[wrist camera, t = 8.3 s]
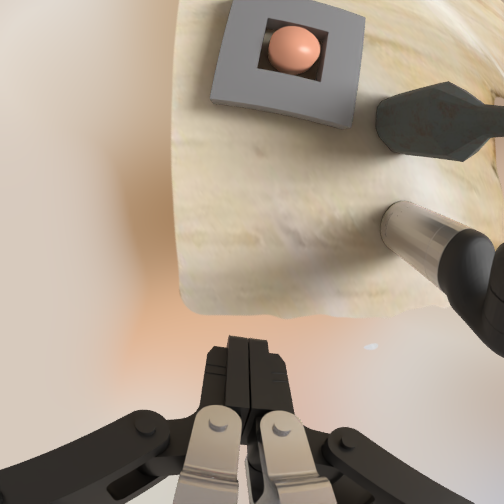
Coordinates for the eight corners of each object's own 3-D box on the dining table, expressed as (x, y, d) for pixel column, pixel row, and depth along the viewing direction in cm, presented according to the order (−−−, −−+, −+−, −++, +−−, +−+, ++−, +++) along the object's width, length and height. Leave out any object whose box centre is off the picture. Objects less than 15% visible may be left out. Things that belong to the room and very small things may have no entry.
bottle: (389, 163, 41) (540, 199, 13) (362, 110, 38) (510, 79, 10) (430, 140, 39) (572, 158, 11) (406, 89, 36) (547, 63, 8)
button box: (356, 26, 32) (365, 17, 28) (342, 129, 39) (351, 127, 35) (237, -1, 31) (236, -13, 27) (212, 103, 37) (209, 98, 33)
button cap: (316, 42, 33) (322, 33, 29) (310, 79, 35) (316, 72, 32) (271, 32, 32) (274, 21, 29) (263, 69, 35) (265, 61, 31)
